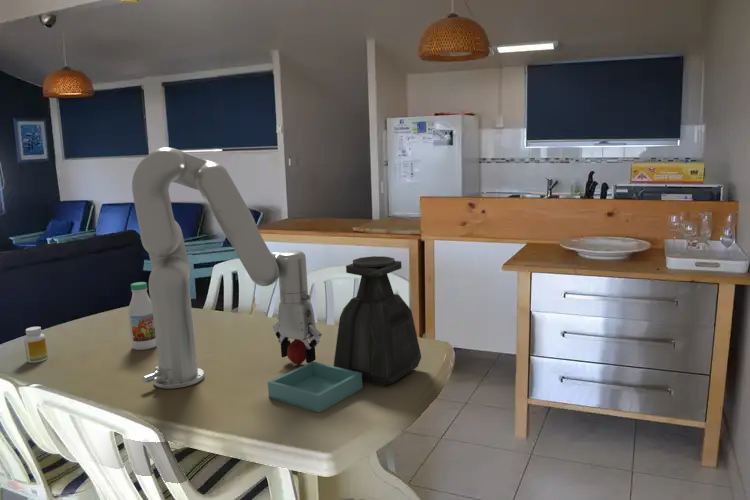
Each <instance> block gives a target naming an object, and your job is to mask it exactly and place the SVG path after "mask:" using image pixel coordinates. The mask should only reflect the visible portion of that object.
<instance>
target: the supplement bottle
mask: <svg viewBox="0 0 750 500" xmlns="http://www.w3.org/2000/svg"><path fill="white" fill-rule="evenodd" d="M25 334H26V336H25V337H24V338H23V339H24V340H23V342H24V348H25V355H26V357H25V358H26V360H27V361H26V362H28V363H31V364H36V363H41V362H44V361H47V359H48V358H49V357H48V348H47V343H46V337H45V334H44V333H42V327H41V326H30V327H27V328H26V329H25Z"/></svg>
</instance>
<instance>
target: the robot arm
mask: <svg viewBox="0 0 750 500" xmlns="http://www.w3.org/2000/svg"><path fill="white" fill-rule="evenodd" d="M172 183H176V184H178V185H181V186H185V187H188V188H191V189H193V190H197V191H199V193H200V195H201V196H202V198H203V199H204V201H205V203H206V205H207V207H208V208H209V210H210V211H211V213H212V216H213V217H214V218H215V220H216V222H217V223H218V225H219V227H220V229H221V231H222V233H223V234H224V236H225V237H226V239H227V240H228V242H229V243H230V245H231V246H232V248H233V250H234V252H235V254H236V256H237V257H238V259H239V260H240V262H241V264H242V266H243V267H244V269H245V271H246V273H247V275H248V276H249V278H250V280H252V282H253V283H254V284H256V285H257V286H261V287H269V286H272V285H273V284H274V283H276V281H277V280H278V286H279V288H278V289H279V299H280V301H279V302H278V304H279V305H278V311H277V312H278V315H277V316H278V317H277V318H278V322H276V323H275V324H273V325H272V330H274V333H275V336H276V337H277V339H278V343H279V344H280V354H281V358H285V357H288V356H287V349H288V346H289V345H290V343H291V340H289V339H293V340H295V339H297V340H301V341H303V342H304V343H305V345H306V347H307V349H305V354H306V359H305V362H306V363H305V364H308V363H310V362H312V361H313V362H315V361H316V359H317V357H316V347H317V345H318V344H319V342H320V340H321V338H322V336H323V335H322V333H321V331H319V330H318V329H317V327H316V318H315V313H314V309H313V304H312V302H311V301H309V300H310V298H311V296H310V294H309V290H308V272H307V271H308V270H307V257H306V253H304V252H303V251H301V250H285V251H281V252H274V251H270V248H269V247H268V246H267V244H266V242H265V240H264V239H263V236H262V234H261V232H260V231H259V229H258V226H257V223H256V221H255V218H254V217H253V214H252V212H251V211H250V208H249V207H248V205H247V204H246V202H245V200H244V199H243V196H242V195H241V193H240V192H239V190H238V188H237V186H236V184H235V182H234V181H233V178H232V177H231V175H230V173H229V172H228V170H227V168H226V167H225V166H224V165H222V164H221V163H218V162H215V161H211V160H209V159H206V158H202V157H199V156H196V155H194V154H191V153H188V152H186V151H183V150H180V149H177V148H175V147H168V146H167V147H160V148H157V149H154V150H153V151H152V152H150V153H149V154H148V155H146V156H145V157H143V159H142V160H141V161H139V163H138V165H137V166H136V168H135V170H134V172H133V175H132V181H131V191H132V197H133V203H134V207H135V213H136V219H137V224H138V228H139V234H140V240H141V244H142V246H143V249H144V250H145V251H146V252H147V253H148V256H149V261H150V264H151V265H150V266H151V271H150V274H149V278H148V291H149V298H150V300H151V304H152V311H153V320H154V327H155V336H156V354H157V365H158V366H155V367H154V370H155V371H153V372H152V373H150V374H145V375H143V376H142V378H141V381H142V383H143V384H145V385H146V384H149V383H151V382H153V384H154V385H155V386H156V387H157V388H160V389H168V390H170V389H179V388H180V389H181V388H186V387H189V386H192V385H195V384H198V383H200V382H201V381H202V380H203V379H204V378H205V371H204V370H203V369H202V368H199V367H198V361H197V350H196V348H197V347H196V341H195V328H194V320H193V310H192V309H193V308H192V301H191V300H192V299H191V291H190V279H191V278H190V277H191V269H190V263H189V259H188V254H187V253H188V252H187V249H186V244H185V243H186V242H185V240H184V235H183V231H182V228H181V226H180V224H179V223H178V222H177V221H176V220H175V217H174V216H175V215H174V212H173V208H172V202H171V197H170V192H169V190H170V189H169V188H170V185H171V184H172Z"/></svg>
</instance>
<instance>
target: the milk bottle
mask: <svg viewBox="0 0 750 500" xmlns="http://www.w3.org/2000/svg"><path fill="white" fill-rule="evenodd" d="M130 290H131V292H132V293H131V294H132V295H131V300H130V303H129V306H128V323H129V332H130V340H131V341H130V342H131V347H132V349H133V350H136V351H143V350H151V349H153V348H155V347H156V348H157V346H156V336H155V327H154V320H153V311H152V304H151V299H150V295H149V294H148V292H147V290H148V283H147V282H145V281H139V282H133V283H130Z"/></svg>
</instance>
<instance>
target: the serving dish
mask: <svg viewBox="0 0 750 500" xmlns="http://www.w3.org/2000/svg"><path fill="white" fill-rule="evenodd" d="M362 389H363V381H362V373H360V372H356V371H352V370H347V369H343V368H339V367H335V366H334V365H330V364H325V363H322V362H316V361H312V362H310V363H305V364H304V365H302V366H299V367H297V368H295V369H293V370H291V371H289V372H287V373H286V372H285V373H284V374H282V375H280V376H278V377H276V378H273V379H271V380H269V381H267V390H268V398H269V399H272V400H275V401H279V402H281V401H282V403H285V404H289V405H291V406H292V405H293V406H295V407H299V408H301V409H302V408H303V409H306V410H309V411H313V412H315V413H318V412H319V413H322V412H323V411H325V410H326V409H329V408H330V407H332V406H334V405H336V404H338V403H339V402H341V401H343V400H344V399H346V398H348V397H350V396H352V395H353V394H356V393H357V392H359V391H361V390H362Z"/></svg>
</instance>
